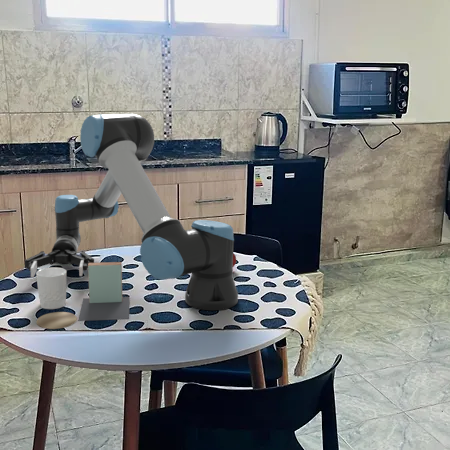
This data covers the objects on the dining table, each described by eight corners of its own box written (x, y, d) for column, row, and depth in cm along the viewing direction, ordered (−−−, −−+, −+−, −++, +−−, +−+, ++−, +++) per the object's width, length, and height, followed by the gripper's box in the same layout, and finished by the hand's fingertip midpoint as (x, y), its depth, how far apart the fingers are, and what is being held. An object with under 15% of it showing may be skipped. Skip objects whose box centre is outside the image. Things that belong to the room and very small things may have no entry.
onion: (216, 268, 196) (216, 245, 194) (232, 267, 198) (233, 244, 196) (221, 274, 191) (222, 250, 189) (238, 272, 193) (239, 249, 191)
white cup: (63, 312, 158) (61, 277, 156) (34, 311, 158) (32, 276, 156) (71, 301, 166) (69, 267, 163) (43, 300, 166) (41, 266, 163)
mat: (83, 300, 167) (83, 298, 167) (129, 298, 169) (129, 296, 168) (78, 322, 152) (78, 320, 152) (129, 321, 154) (129, 318, 154)
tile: (89, 300, 166) (88, 262, 163) (122, 298, 167) (121, 262, 164) (89, 303, 163) (87, 265, 160) (122, 302, 164) (121, 264, 162)
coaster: (85, 320, 153) (85, 317, 153) (55, 334, 145) (55, 331, 145) (58, 311, 158) (57, 309, 158) (28, 324, 150) (28, 321, 150)
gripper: (104, 260, 193) (100, 283, 173) (25, 261, 189) (12, 285, 169) (103, 238, 191) (100, 259, 171) (24, 239, 187) (10, 260, 167)
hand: (56, 272), depth 170 cm, fingers open, 13 cm apart
